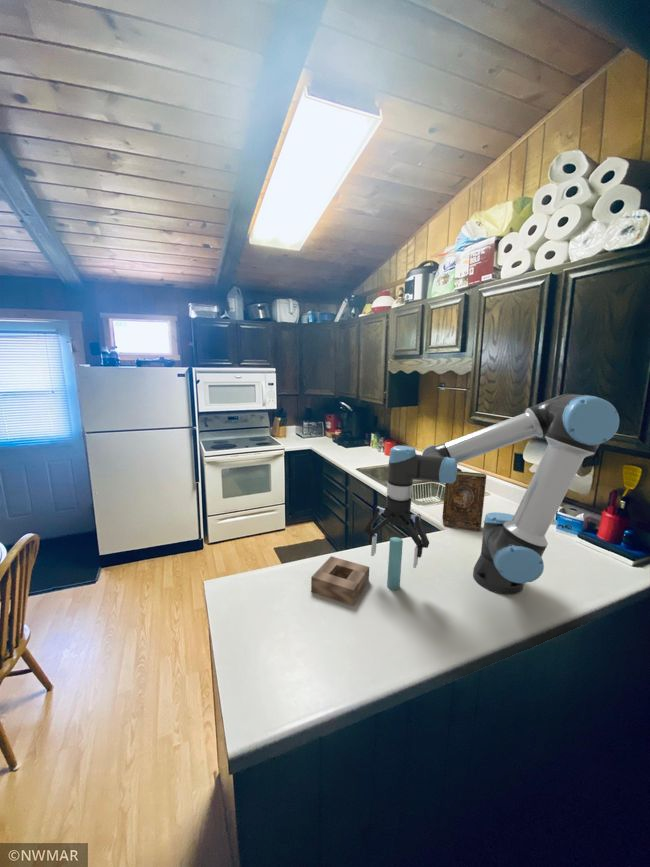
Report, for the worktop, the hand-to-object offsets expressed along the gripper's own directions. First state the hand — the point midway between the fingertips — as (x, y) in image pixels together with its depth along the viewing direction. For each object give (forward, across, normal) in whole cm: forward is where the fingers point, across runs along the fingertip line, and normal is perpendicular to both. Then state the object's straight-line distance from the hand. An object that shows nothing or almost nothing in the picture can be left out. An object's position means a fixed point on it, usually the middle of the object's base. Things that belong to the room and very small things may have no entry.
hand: (393, 559), depth 110 cm
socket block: (+10, +14, +8) cm, 19 cm away
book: (+9, -16, -60) cm, 62 cm away
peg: (+9, 0, 0) cm, 9 cm away
